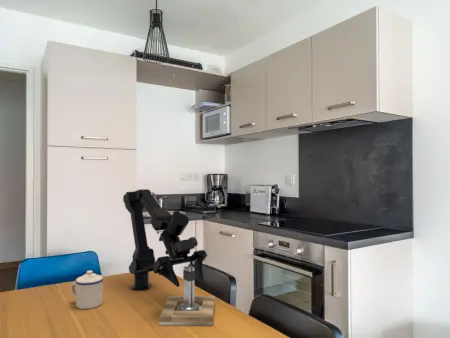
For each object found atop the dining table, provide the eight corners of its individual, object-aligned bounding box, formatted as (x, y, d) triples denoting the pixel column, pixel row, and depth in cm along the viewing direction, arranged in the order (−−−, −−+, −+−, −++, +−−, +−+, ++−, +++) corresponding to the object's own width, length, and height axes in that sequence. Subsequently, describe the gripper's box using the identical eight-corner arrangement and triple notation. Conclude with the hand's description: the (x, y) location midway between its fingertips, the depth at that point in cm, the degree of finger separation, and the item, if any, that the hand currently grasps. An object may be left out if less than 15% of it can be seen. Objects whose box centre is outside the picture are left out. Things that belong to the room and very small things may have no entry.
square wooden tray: (169, 303, 121) (169, 295, 121) (214, 303, 121) (214, 296, 121) (159, 325, 103) (159, 317, 103) (212, 325, 103) (212, 317, 103)
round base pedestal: (175, 309, 112) (175, 266, 113) (191, 305, 116) (191, 263, 117) (186, 316, 107) (186, 271, 108) (202, 310, 111) (202, 267, 112)
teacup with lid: (108, 301, 123) (108, 268, 123) (91, 311, 114) (91, 275, 114) (80, 297, 126) (80, 266, 126) (62, 307, 117) (62, 272, 118)
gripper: (157, 232, 110) (175, 274, 101) (204, 226, 122) (224, 264, 113) (145, 252, 116) (161, 294, 107) (191, 245, 128) (209, 282, 119)
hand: (190, 283), depth 111 cm, fingers open, 9 cm apart
